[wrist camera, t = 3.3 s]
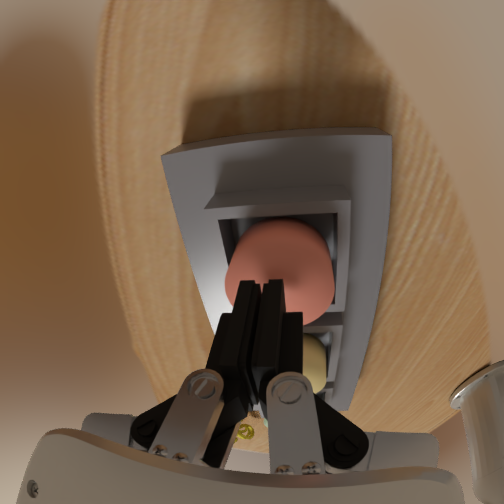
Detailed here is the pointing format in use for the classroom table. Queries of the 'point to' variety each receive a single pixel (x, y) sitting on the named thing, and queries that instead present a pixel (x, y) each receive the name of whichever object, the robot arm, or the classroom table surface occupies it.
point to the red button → (285, 264)
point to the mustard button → (314, 361)
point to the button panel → (299, 207)
